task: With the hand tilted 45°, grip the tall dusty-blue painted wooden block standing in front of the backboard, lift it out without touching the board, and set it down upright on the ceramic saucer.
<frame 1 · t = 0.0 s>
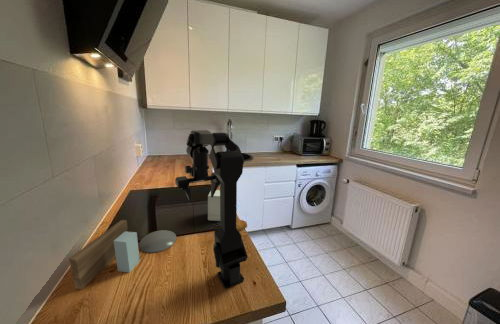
hand: (201, 199, 83), 15 cm above the worktop, tool pointing down, fingers open, 9 cm apart
pastry: (235, 228, 90), on the worktop
backboard: (106, 263, 66), on the worktop
saucer: (158, 241, 78), on the worktop
supplement box: (216, 217, 98), on the worktop
blue block: (129, 265, 66), on the worktop
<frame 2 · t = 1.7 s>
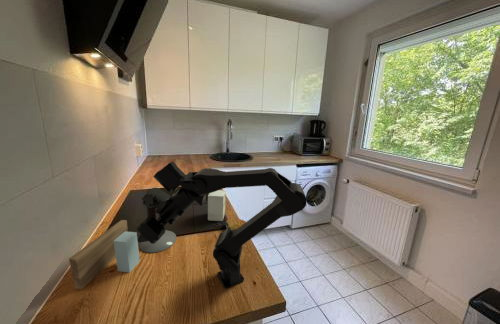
hand: (148, 231, 62), 13 cm above the worktop, tool tilted 45°, fingers open, 9 cm apart
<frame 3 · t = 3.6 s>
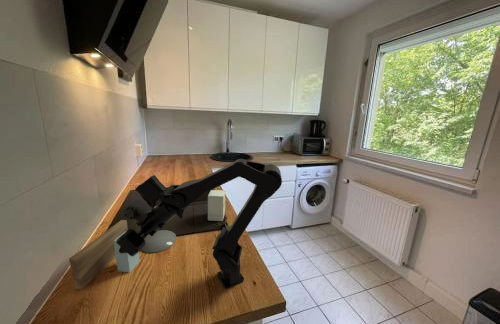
hand: (130, 242, 63), 9 cm above the worktop, tool tilted 45°, fingers open, 9 cm apart
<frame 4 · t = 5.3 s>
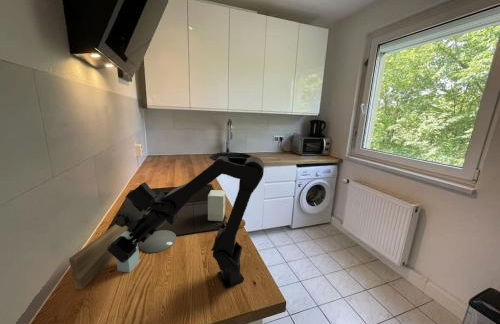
hand: (122, 248, 64), 7 cm above the worktop, tool tilted 45°, fingers closed on blue block, 5 cm apart
blue block: (129, 265, 66), on the worktop, touching gripper
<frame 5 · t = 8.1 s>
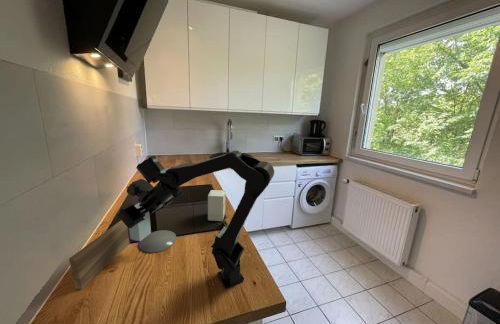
hand: (136, 218, 69), 13 cm above the worktop, tool tilted 45°, fingers closed on blue block, 5 cm apart
blue block: (140, 235, 70), point 7 cm above the worktop, touching gripper
when the fingers open (8 cm above the worktop, at t = 10.6 s): blue block stays where it is, resting on saucer.
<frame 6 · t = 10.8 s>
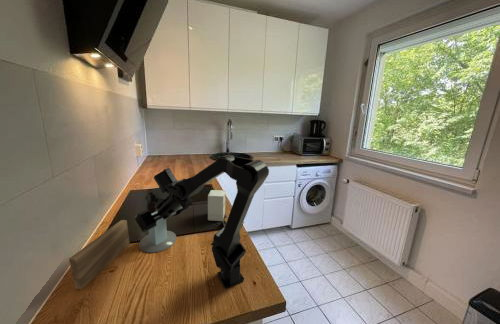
hand: (154, 221, 77), 8 cm above the worktop, tool tilted 45°, fingers open, 7 cm apart
blue block: (158, 239, 78), point 1 cm above the worktop, touching saucer
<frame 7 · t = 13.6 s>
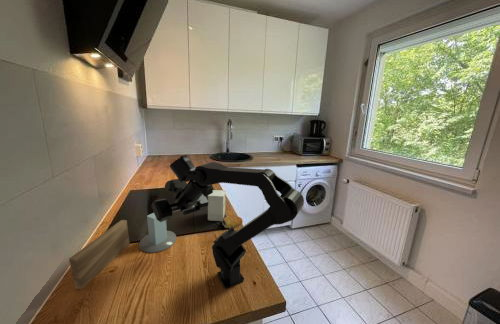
hand: (172, 217, 71), 13 cm above the worktop, tool tilted 40°, fingers open, 9 cm apart
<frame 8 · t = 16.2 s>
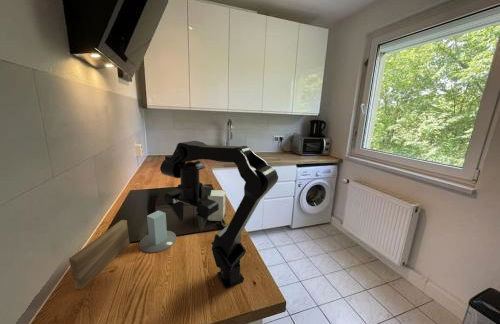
hand: (191, 225, 67), 13 cm above the worktop, tool pointing down, fingers open, 9 cm apart
at the end: blue block 0.0 cm off-centre on the saucer, point 0.6 cm above the saucer's base; blue block tilted 0°; the gripper is holding nothing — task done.
